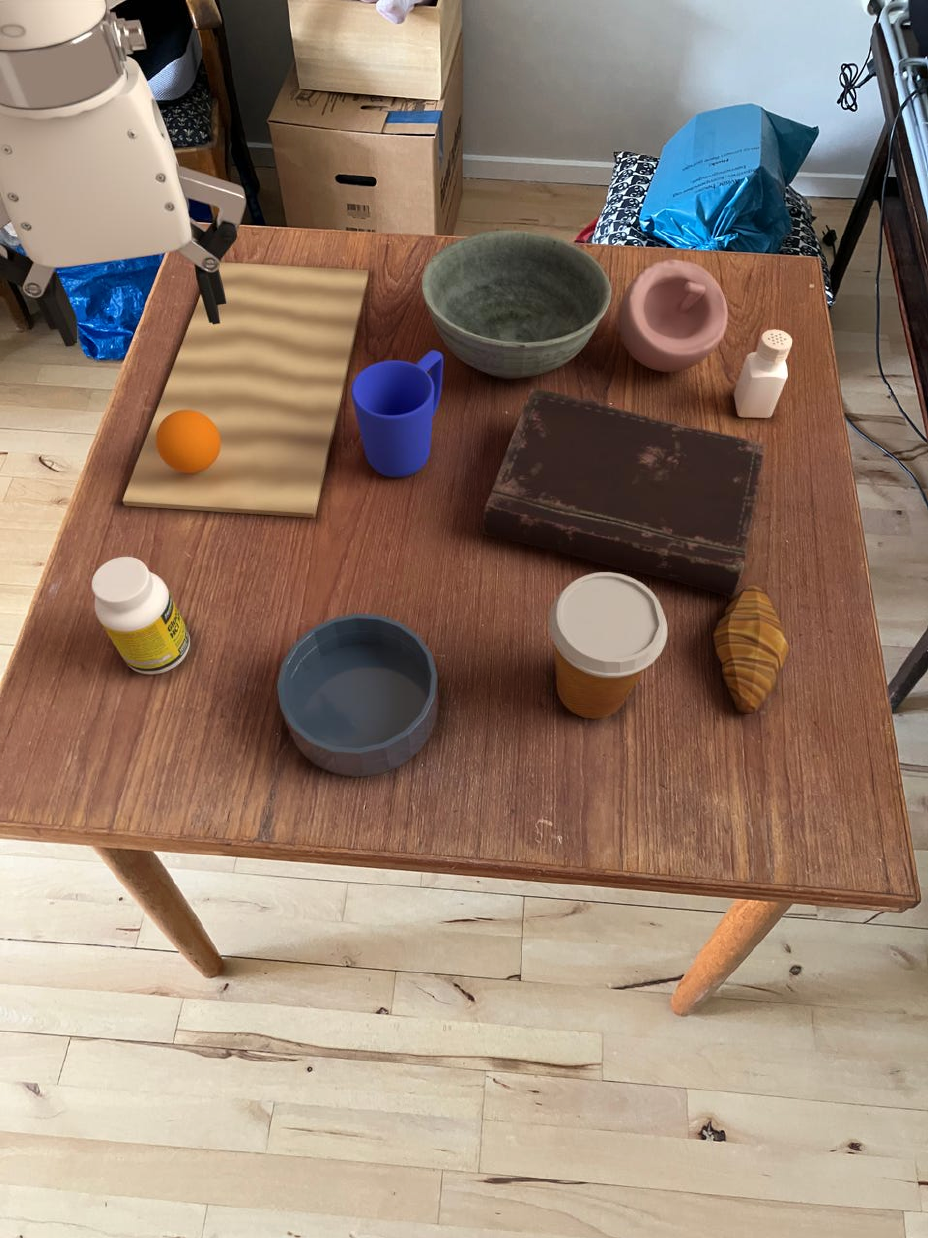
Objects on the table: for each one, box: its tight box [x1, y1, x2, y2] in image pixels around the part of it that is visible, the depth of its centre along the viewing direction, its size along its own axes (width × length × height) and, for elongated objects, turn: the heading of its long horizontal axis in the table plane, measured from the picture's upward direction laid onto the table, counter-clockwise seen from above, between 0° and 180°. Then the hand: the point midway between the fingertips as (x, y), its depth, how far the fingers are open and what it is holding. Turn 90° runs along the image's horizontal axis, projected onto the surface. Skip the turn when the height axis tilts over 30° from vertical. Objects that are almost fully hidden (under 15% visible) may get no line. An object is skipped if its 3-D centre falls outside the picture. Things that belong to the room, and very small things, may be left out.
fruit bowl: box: [276, 613, 439, 778], centre depth 77 cm, size 13×13×5 cm
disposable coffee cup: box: [548, 571, 668, 720], centre depth 75 cm, size 10×10×12 cm
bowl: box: [421, 230, 612, 380], centre depth 100 cm, size 21×21×10 cm
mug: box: [350, 349, 444, 479], centre depth 92 cm, size 8×12×10 cm
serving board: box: [122, 261, 369, 519], centre depth 101 cm, size 40×20×1 cm, turn 175°
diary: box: [481, 387, 766, 597], centre depth 90 cm, size 19×25×5 cm
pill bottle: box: [91, 556, 191, 675], centre depth 77 cm, size 6×6×11 cm
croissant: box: [713, 585, 790, 715], centre depth 80 cm, size 14×7×5 cm, turn 168°
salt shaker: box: [733, 328, 793, 419], centre depth 95 cm, size 4×4×10 cm
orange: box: [156, 410, 221, 473], centre depth 91 cm, size 6×6×6 cm
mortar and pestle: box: [617, 258, 729, 373], centre depth 99 cm, size 12×12×12 cm
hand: (143, 322), depth 61 cm, fingers open, 9 cm apart
